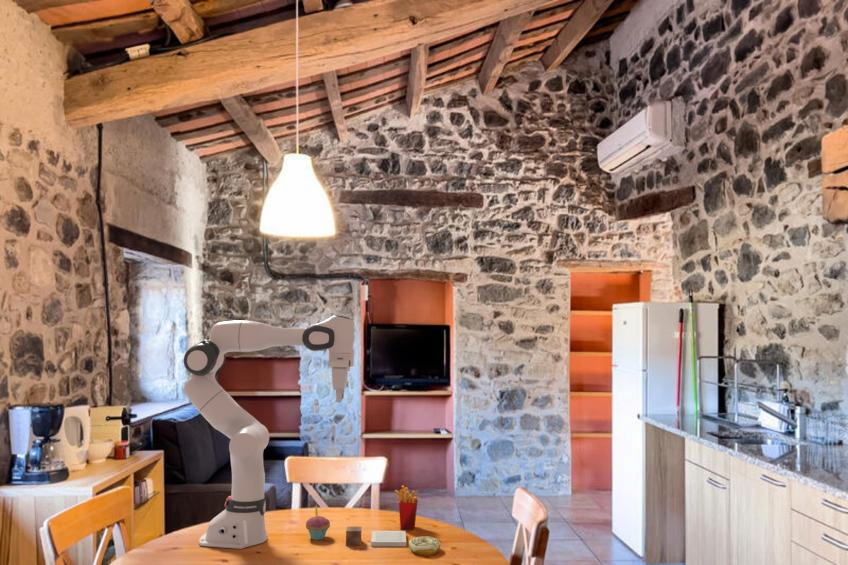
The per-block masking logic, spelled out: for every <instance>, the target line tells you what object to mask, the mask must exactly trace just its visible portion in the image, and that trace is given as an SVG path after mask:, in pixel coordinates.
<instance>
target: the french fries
mask: <svg viewBox="0 0 848 565" xmlns="http://www.w3.org/2000/svg"><path fill="white" fill-rule="evenodd" d="M394 493H396V494H397V495H396V498H397V499H399V503H398V509H399V512H398V513H399V528H400V531H414V530H415V527H416V519H417V510H418V501H419V500H418V496H416V494H417V493H419V490H417V489H416V490H412V493H410V490H409V488H408V487H407V486H405V485H401V489H399V490H397V489H395V490H394Z"/></svg>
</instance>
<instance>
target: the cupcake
mask: <svg viewBox="0 0 848 565" xmlns="http://www.w3.org/2000/svg"><path fill="white" fill-rule="evenodd" d="M314 507H315V508H314V509H315V516H313V517H310V518H308V519H307V521H306V522H305V528H306V529H307V530H308V533H309V537H310V539H312V540H314V541H315V540H316V541H318V540H319V541H320V540H323V539H325V537H326V533H327V531H328V530H329V528H330V527H331V523H330V520H329V519H327V518H326V517H325V516H322V515H321V516H320V515H318V506H317V504H315V506H314Z"/></svg>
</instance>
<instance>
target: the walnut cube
mask: <svg viewBox="0 0 848 565" xmlns="http://www.w3.org/2000/svg"><path fill="white" fill-rule="evenodd" d="M362 528H363V527H362V526H347V527H346V530H345V547H360V546H361V545H362Z"/></svg>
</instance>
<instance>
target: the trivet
mask: <svg viewBox="0 0 848 565" xmlns="http://www.w3.org/2000/svg"><path fill="white" fill-rule="evenodd" d="M406 531H407V530H372V531H371V536H370V537H371V538H370V547H407V533H406Z"/></svg>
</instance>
